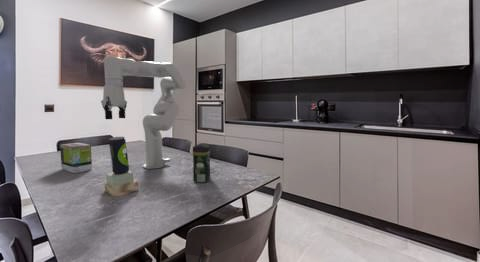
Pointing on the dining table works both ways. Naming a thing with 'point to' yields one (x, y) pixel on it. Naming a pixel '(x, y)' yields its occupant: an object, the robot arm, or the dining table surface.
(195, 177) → the coffee jar
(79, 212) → the dining table surface
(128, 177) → the sage brick
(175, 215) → the dining table surface
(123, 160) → the beverage can
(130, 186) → the beech base brick
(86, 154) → the tea box
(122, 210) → the dining table surface
